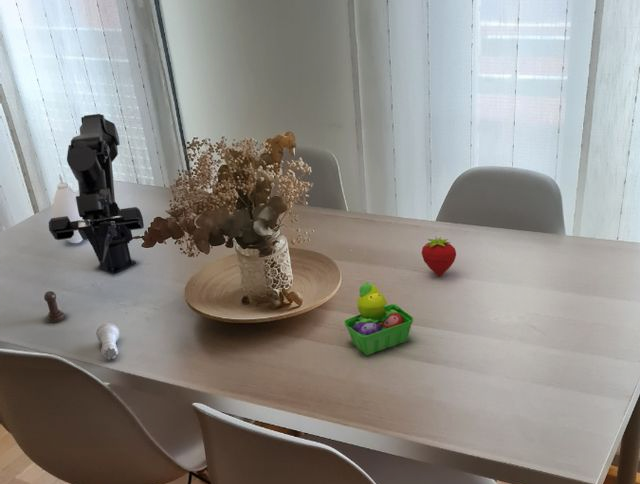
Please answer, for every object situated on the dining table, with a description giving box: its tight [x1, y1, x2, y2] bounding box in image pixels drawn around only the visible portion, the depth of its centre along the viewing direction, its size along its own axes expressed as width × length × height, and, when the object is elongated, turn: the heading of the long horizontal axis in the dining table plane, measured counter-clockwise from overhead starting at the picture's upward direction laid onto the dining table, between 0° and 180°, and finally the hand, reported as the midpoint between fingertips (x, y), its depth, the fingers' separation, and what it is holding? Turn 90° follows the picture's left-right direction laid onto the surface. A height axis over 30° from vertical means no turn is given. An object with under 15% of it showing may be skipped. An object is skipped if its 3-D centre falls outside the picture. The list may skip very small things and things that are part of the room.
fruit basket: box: [343, 282, 414, 356], centre depth 161 cm, size 11×9×11 cm
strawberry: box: [421, 236, 457, 277], centre depth 183 cm, size 6×8×10 cm
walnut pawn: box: [43, 290, 65, 324], centre depth 182 cm, size 3×3×6 cm
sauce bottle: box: [52, 173, 84, 244], centre depth 213 cm, size 8×8×18 cm
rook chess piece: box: [95, 323, 120, 361], centre depth 169 cm, size 4×4×8 cm
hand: (101, 261), depth 179 cm, fingers closed
